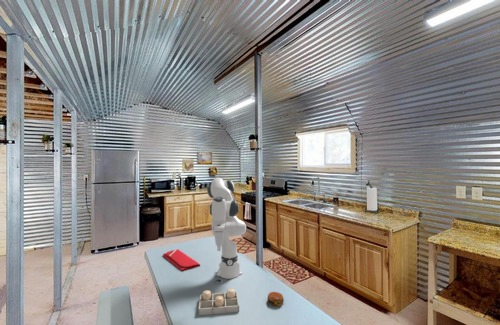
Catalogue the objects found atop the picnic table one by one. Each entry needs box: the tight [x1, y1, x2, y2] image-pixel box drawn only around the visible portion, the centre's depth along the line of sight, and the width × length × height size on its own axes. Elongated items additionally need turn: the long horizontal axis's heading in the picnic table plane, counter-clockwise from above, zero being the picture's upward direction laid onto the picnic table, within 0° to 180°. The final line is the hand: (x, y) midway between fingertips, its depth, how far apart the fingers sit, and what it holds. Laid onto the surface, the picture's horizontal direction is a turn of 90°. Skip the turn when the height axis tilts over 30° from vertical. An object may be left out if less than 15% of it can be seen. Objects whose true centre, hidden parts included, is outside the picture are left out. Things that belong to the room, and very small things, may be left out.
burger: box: [267, 291, 285, 307], centre depth 140 cm, size 10×9×5 cm
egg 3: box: [226, 288, 236, 299], centre depth 140 cm, size 5×5×6 cm
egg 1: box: [202, 290, 212, 301], centre depth 139 cm, size 5×5×6 cm
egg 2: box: [215, 296, 223, 307], centre depth 133 cm, size 5×5×6 cm
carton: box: [198, 291, 240, 316], centre depth 136 cm, size 15×22×4 cm
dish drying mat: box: [162, 249, 201, 272], centre depth 201 cm, size 16×41×4 cm, turn 40°
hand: (218, 247), depth 143 cm, fingers open, 8 cm apart
